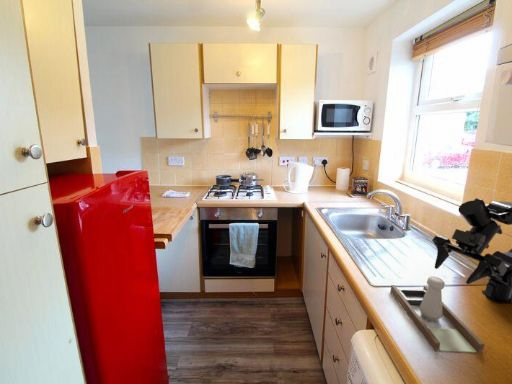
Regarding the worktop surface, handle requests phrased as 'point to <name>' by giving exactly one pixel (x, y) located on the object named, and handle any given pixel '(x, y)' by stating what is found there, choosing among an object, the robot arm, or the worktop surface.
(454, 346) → the walnut channel
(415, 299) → the black tray
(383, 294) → the worktop surface
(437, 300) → the salt shaker
